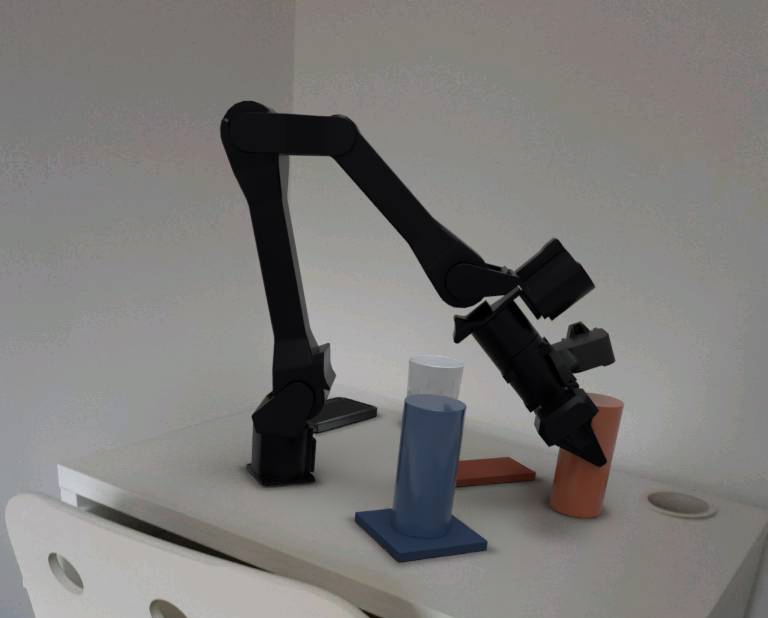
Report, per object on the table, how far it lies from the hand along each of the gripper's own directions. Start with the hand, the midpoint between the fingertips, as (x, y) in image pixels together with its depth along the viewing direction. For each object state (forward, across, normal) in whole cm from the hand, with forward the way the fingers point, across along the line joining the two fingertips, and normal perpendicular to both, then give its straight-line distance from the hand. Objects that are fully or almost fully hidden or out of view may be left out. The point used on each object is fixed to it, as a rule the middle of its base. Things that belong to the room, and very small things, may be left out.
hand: (597, 455), depth 92 cm
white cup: (-8, +26, +18) cm, 33 cm away
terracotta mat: (-4, +8, +13) cm, 16 cm away
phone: (-19, +26, +28) cm, 43 cm away
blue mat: (-9, -13, +18) cm, 24 cm away
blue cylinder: (-10, -13, +18) cm, 24 cm away
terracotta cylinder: (+4, 0, +6) cm, 7 cm away
